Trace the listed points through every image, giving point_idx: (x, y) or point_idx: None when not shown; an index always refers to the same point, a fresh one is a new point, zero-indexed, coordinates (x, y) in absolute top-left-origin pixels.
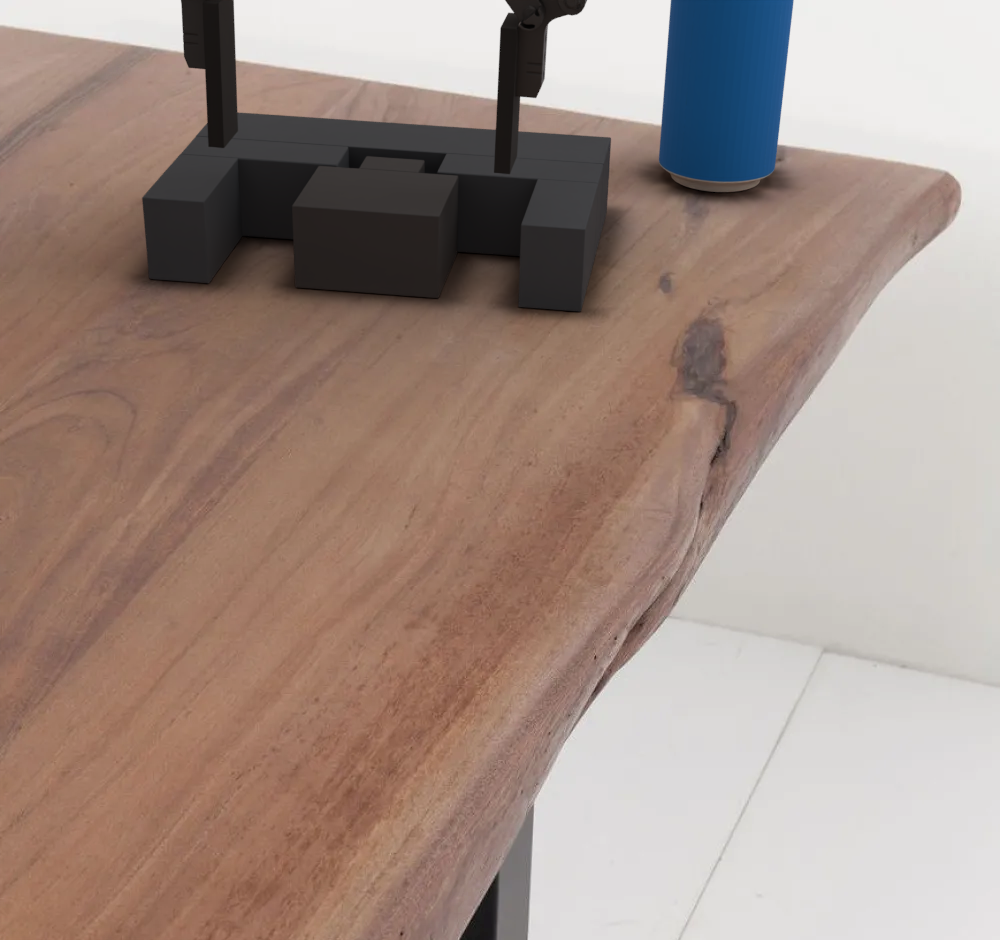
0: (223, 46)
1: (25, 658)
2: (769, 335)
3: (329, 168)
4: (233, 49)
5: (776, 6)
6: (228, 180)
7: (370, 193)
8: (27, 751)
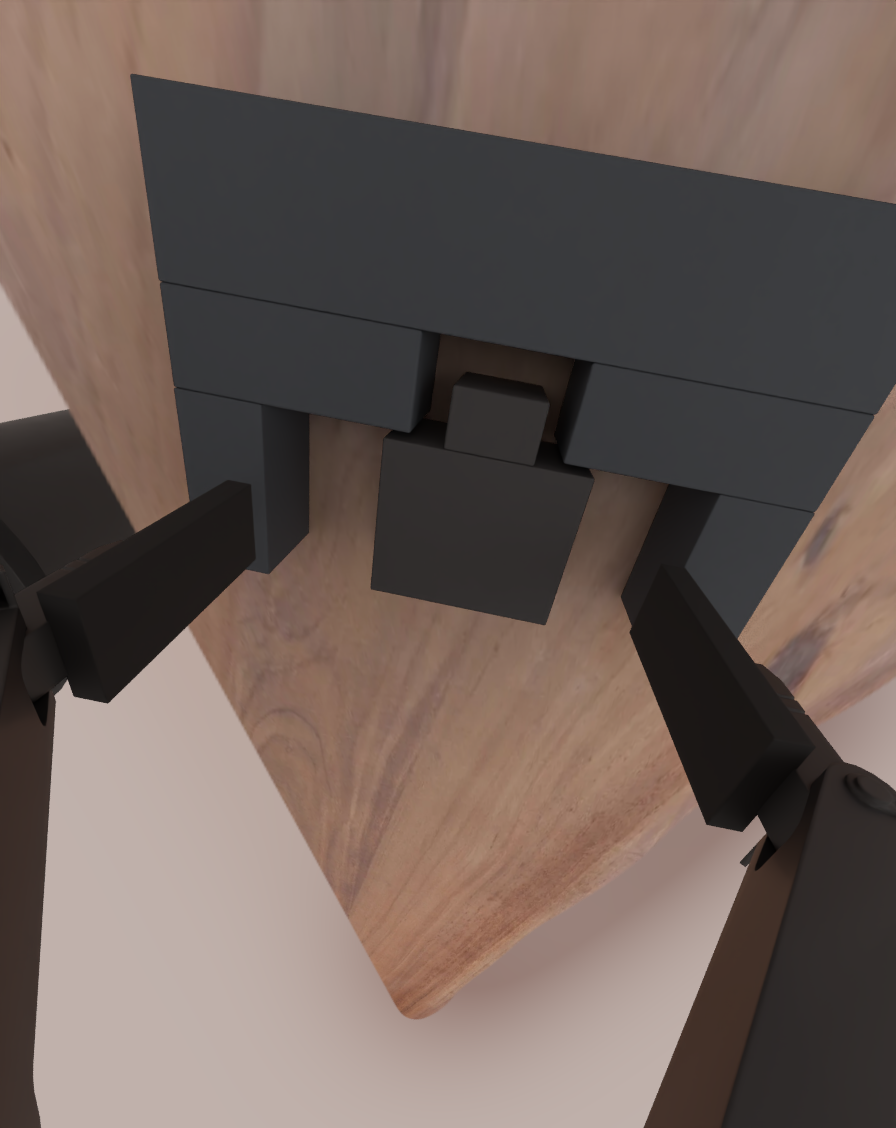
0: (166, 625)
1: (337, 890)
2: (864, 665)
3: (400, 453)
4: (170, 550)
5: None
6: (270, 461)
7: (462, 552)
8: (355, 923)
